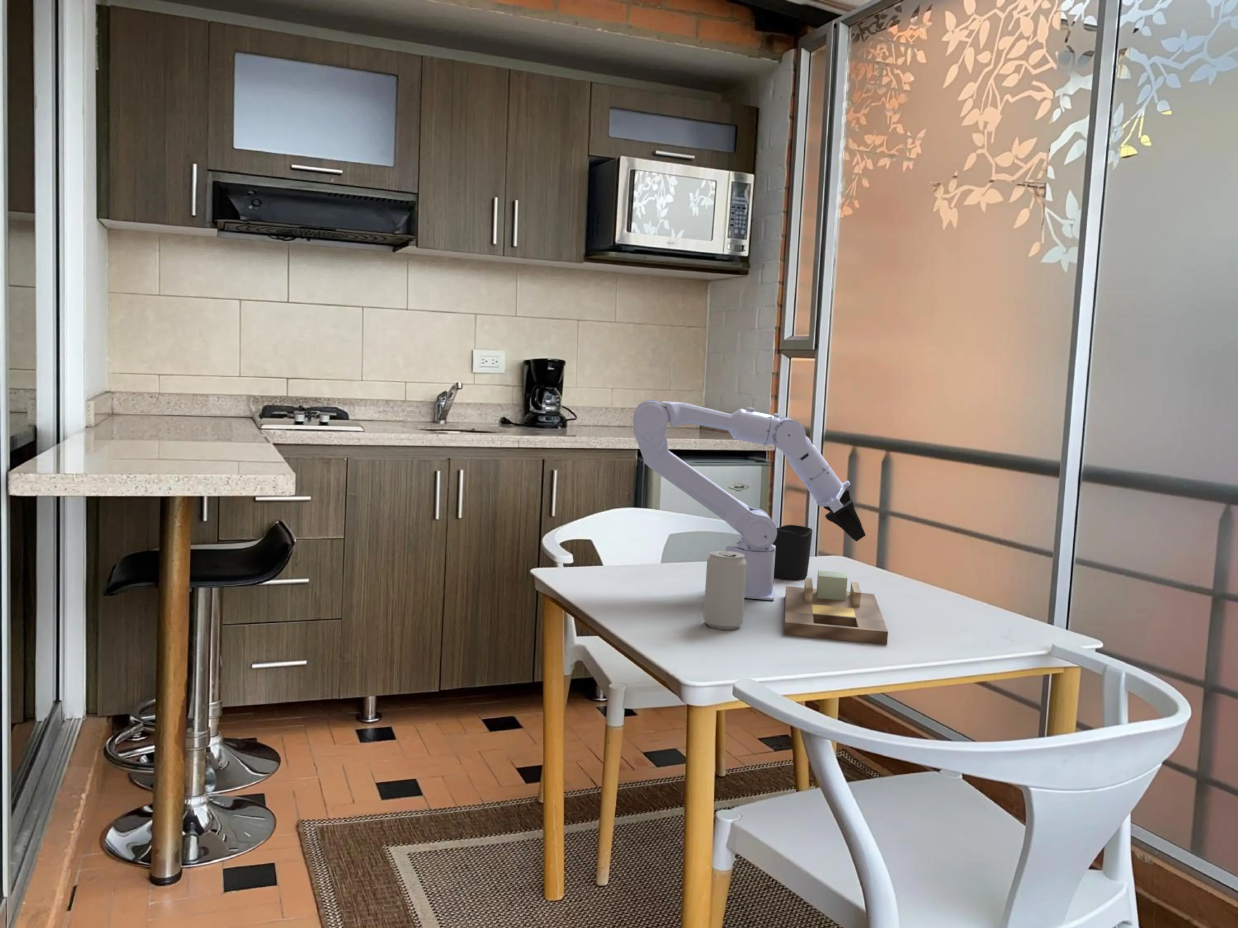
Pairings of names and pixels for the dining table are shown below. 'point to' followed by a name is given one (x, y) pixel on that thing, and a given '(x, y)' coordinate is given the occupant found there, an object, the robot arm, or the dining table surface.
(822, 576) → the block
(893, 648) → the dining table surface
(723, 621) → the beverage can
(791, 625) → the deck
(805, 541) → the pen holder
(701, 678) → the dining table surface
